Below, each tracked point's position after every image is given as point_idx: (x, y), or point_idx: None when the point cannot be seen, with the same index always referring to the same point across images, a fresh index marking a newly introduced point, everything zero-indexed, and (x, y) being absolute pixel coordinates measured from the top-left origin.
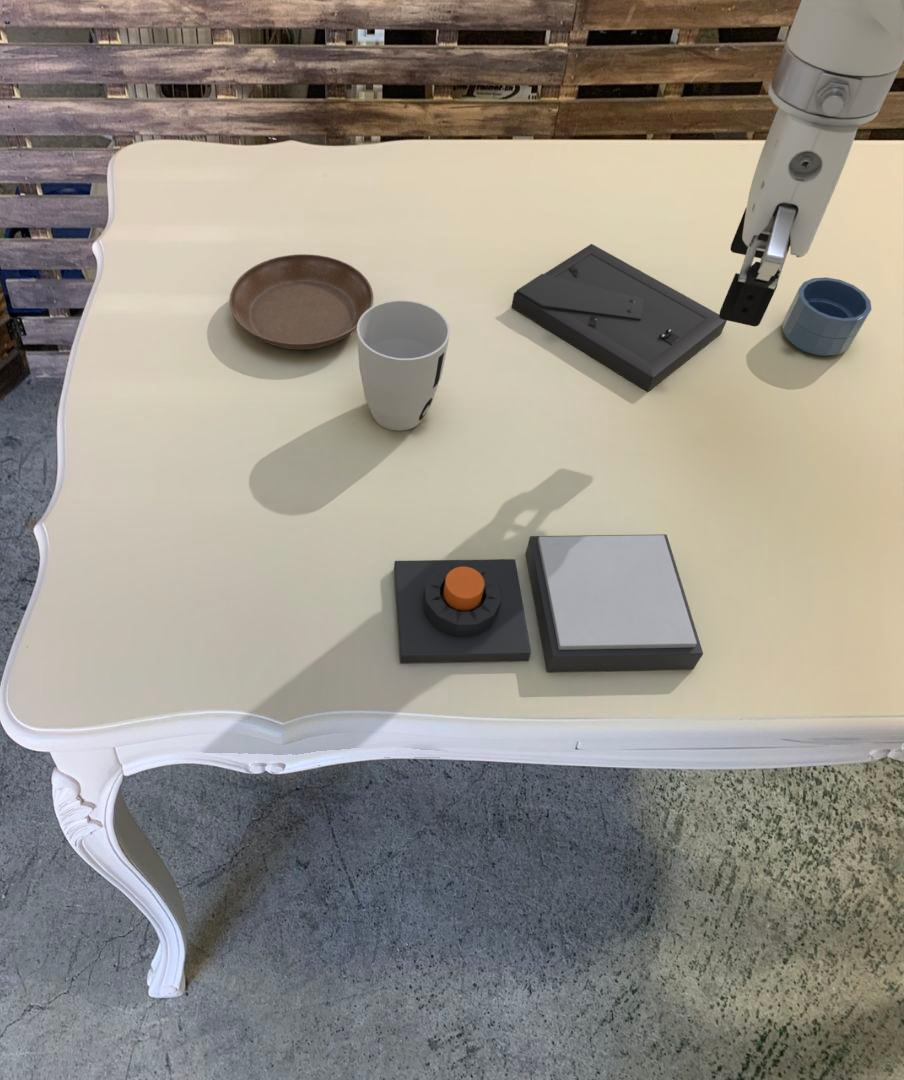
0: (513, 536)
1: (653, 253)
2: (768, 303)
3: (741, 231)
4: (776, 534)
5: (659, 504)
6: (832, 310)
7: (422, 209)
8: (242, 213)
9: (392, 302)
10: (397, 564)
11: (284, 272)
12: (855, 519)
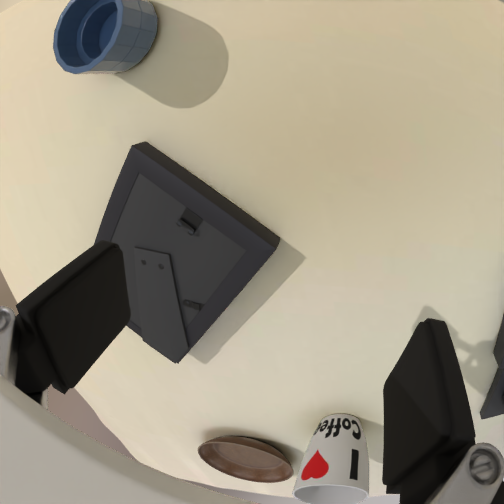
0: (476, 360)
1: (60, 216)
2: (462, 379)
3: (98, 352)
4: (497, 116)
5: (464, 243)
6: (90, 25)
7: (106, 381)
8: (166, 452)
9: (296, 496)
10: (484, 418)
11: (215, 458)
12: (456, 15)
